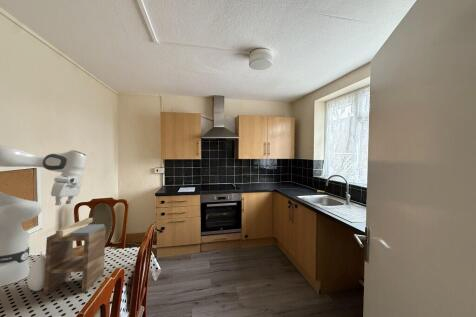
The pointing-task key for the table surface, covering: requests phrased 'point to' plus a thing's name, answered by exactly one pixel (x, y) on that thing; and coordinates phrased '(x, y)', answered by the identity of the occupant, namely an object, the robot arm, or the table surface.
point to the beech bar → (73, 227)
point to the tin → (78, 251)
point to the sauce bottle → (37, 274)
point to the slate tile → (87, 230)
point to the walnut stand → (74, 260)
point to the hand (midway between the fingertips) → (62, 204)
